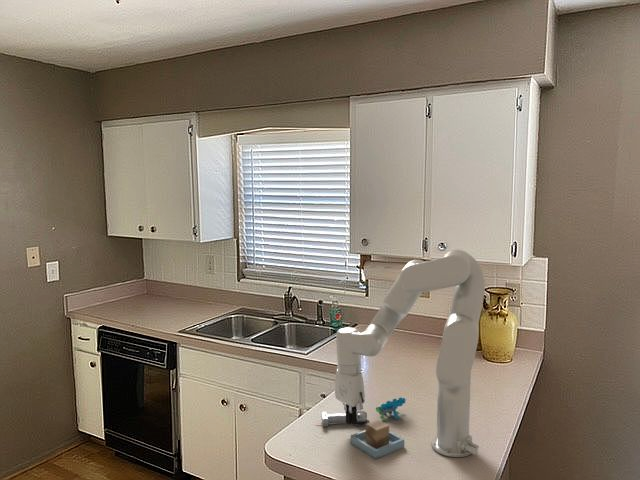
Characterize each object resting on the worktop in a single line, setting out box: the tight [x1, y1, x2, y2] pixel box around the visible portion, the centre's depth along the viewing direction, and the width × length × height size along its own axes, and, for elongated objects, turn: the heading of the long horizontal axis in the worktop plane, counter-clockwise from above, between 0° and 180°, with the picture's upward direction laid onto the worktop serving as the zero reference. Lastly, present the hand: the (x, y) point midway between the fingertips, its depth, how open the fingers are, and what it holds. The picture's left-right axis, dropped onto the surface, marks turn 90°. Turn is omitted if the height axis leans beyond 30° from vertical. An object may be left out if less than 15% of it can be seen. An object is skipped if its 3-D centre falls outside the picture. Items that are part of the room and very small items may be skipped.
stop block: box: [365, 419, 390, 449], centre depth 160 cm, size 5×5×6 cm
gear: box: [375, 397, 407, 422], centre depth 179 cm, size 11×6×10 cm
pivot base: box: [315, 419, 370, 428], centre depth 174 cm, size 6×18×1 cm, turn 106°
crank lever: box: [321, 410, 368, 427], centre depth 175 cm, size 15×5×3 cm, turn 95°
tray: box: [349, 429, 405, 460], centre depth 160 cm, size 12×12×2 cm
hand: (351, 422), depth 168 cm, fingers closed
